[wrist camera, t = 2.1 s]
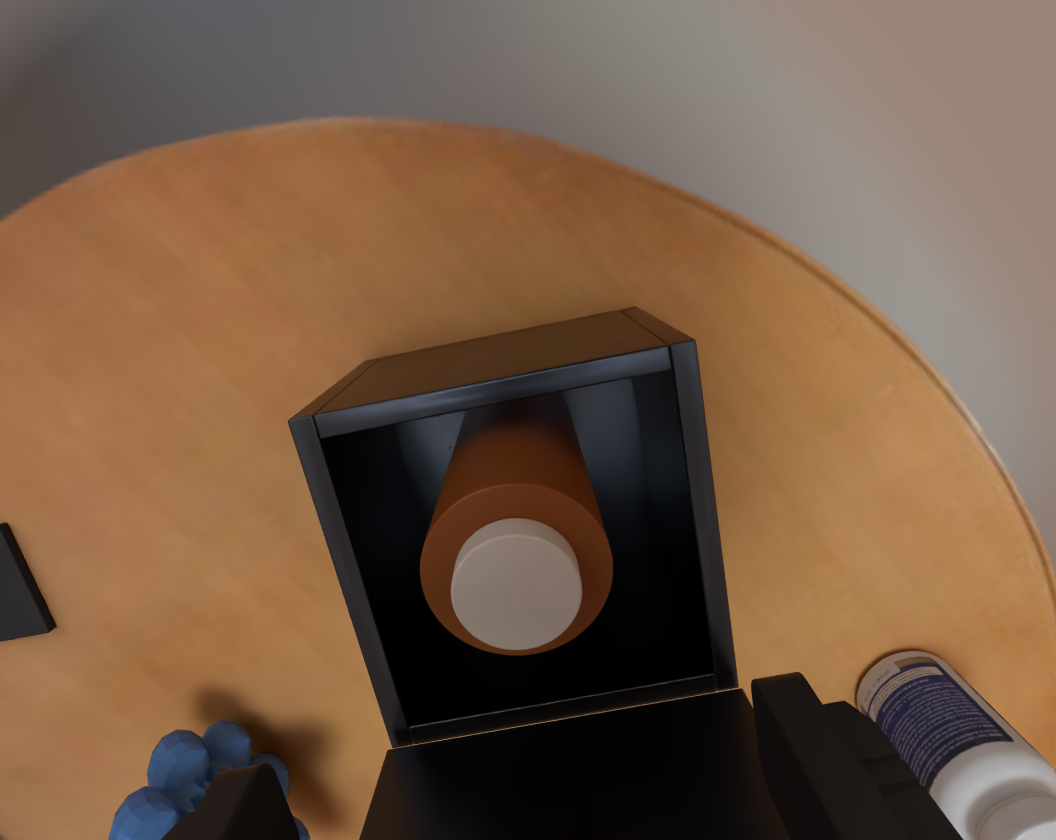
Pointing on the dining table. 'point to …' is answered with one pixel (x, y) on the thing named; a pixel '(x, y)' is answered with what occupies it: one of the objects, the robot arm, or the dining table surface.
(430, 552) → the amber bottle
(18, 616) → the coaster
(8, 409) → the dining table surface
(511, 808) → the lid
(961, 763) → the pill bottle
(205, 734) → the grapes
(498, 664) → the black hinged box
